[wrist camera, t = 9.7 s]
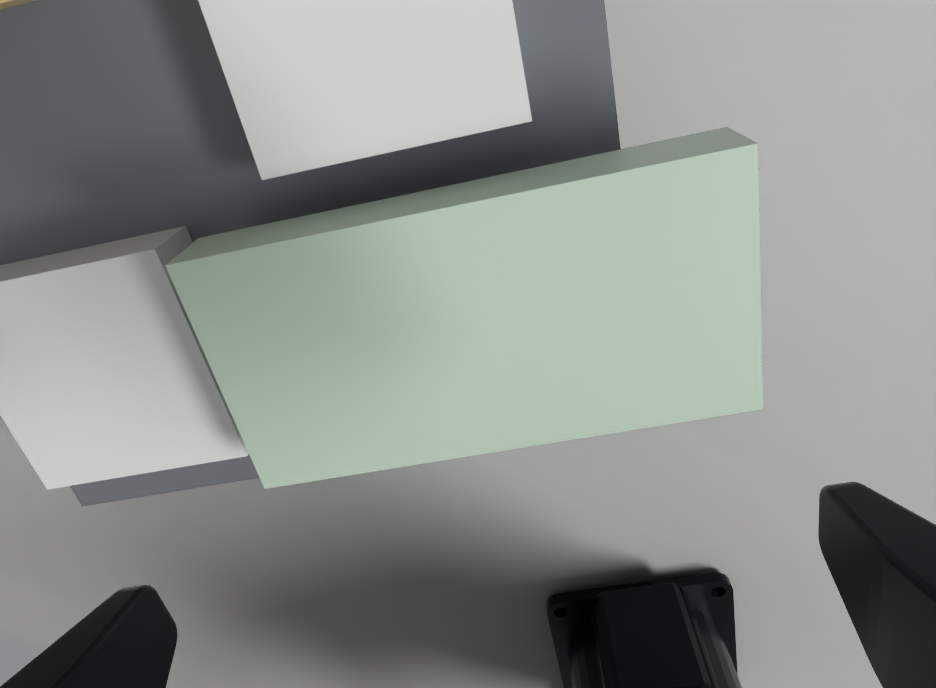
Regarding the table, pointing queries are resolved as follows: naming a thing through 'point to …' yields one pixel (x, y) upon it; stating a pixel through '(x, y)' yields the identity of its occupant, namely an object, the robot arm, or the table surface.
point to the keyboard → (232, 183)
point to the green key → (489, 311)
